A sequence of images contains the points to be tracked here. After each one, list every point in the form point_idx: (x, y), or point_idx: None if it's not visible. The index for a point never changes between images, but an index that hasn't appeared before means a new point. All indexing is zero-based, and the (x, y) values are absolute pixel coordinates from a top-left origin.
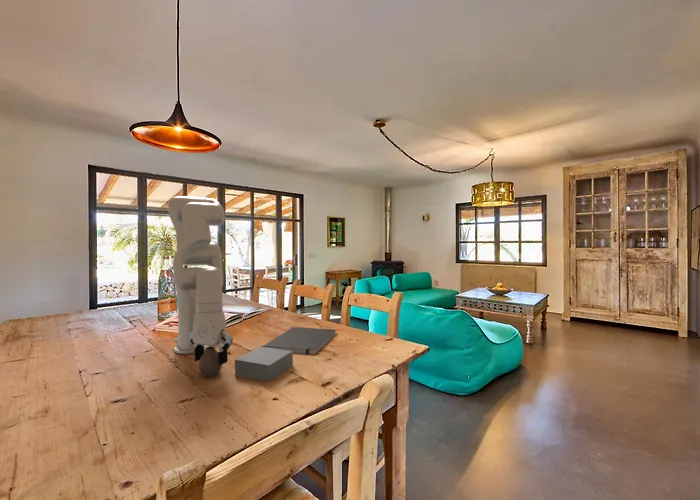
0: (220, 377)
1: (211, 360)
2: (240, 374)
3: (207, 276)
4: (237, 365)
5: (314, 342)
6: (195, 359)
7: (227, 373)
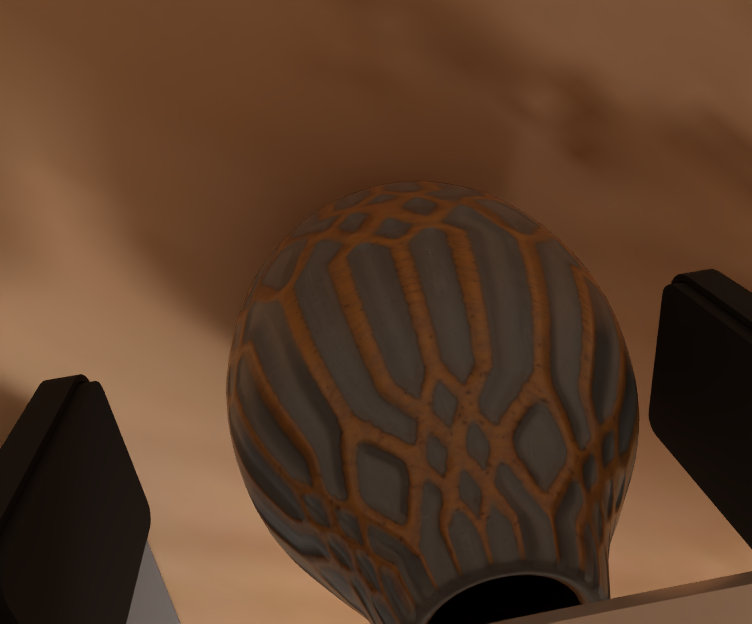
0: (206, 310)
1: (265, 371)
2: None
3: None
4: None
5: None
6: (708, 280)
7: None
